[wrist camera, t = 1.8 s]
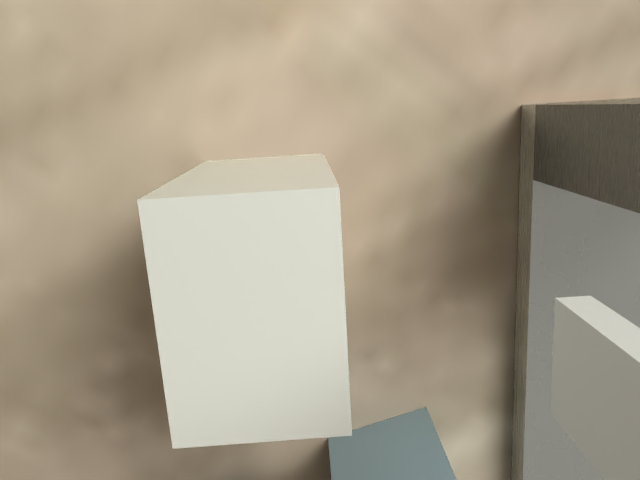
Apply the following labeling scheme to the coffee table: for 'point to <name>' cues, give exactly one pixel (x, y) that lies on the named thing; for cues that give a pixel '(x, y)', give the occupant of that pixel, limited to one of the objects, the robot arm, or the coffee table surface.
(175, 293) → the block
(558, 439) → the rail
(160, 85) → the coffee table surface
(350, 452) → the block
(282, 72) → the coffee table surface
